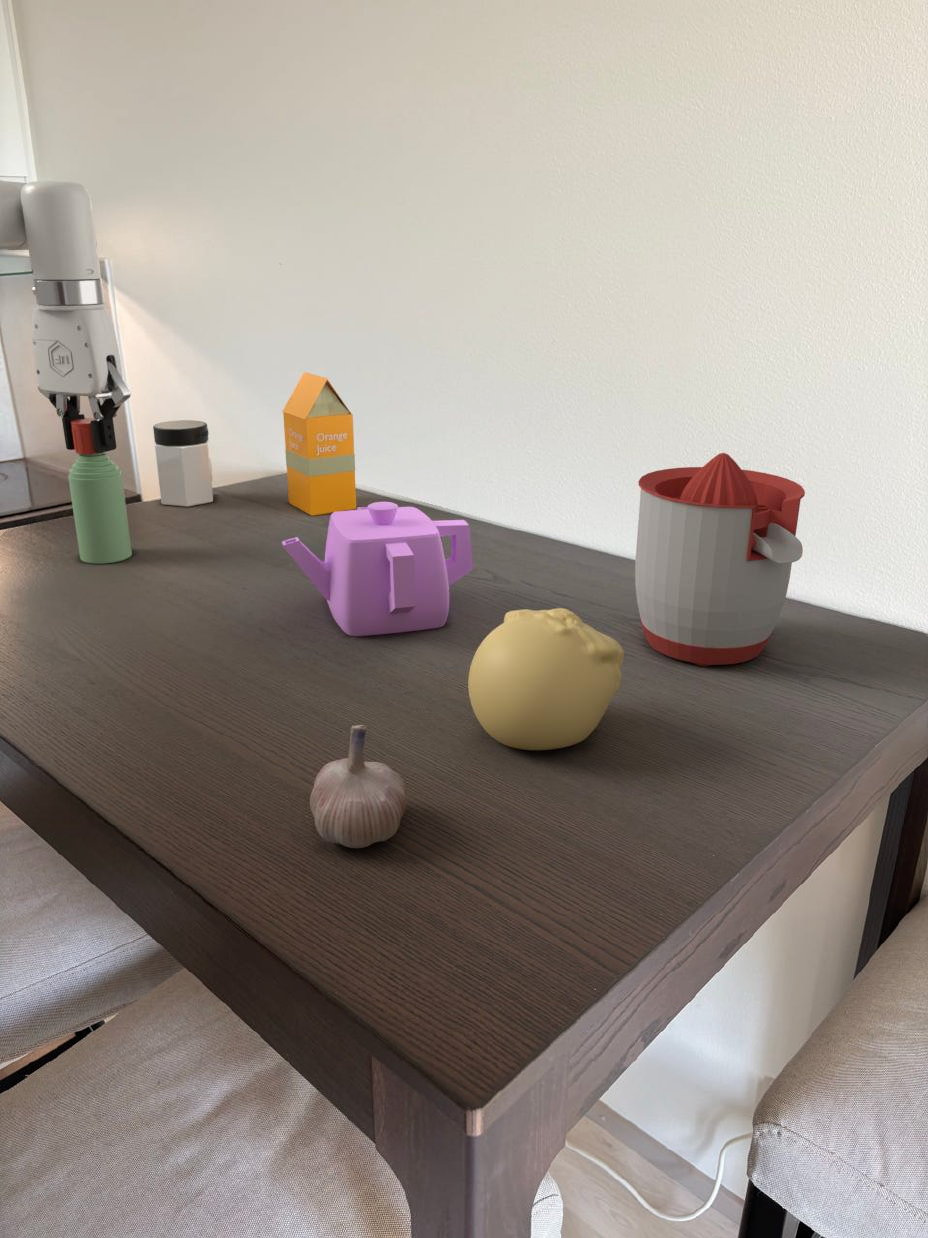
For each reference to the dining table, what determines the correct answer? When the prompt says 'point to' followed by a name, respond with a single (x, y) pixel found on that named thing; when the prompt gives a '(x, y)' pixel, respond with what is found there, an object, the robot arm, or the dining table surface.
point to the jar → (183, 462)
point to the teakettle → (386, 568)
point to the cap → (82, 436)
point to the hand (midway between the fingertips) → (91, 447)
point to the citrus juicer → (714, 559)
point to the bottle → (99, 509)
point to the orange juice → (319, 448)
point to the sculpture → (543, 679)
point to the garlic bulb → (357, 798)
